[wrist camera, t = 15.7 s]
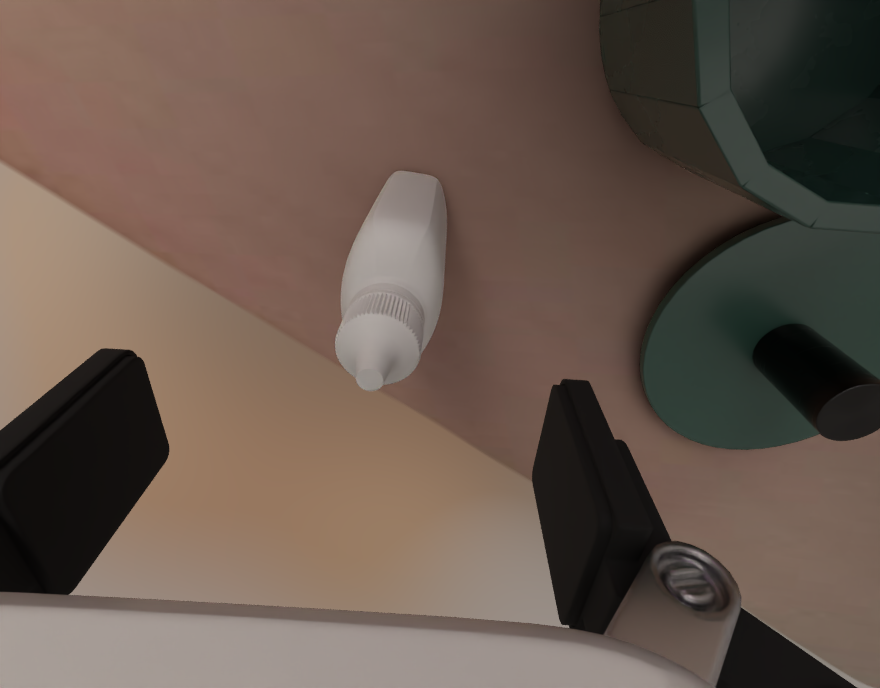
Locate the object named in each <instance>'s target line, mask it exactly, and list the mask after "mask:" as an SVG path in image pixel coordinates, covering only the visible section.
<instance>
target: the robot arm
mask: <svg viewBox="0 0 880 688" xmlns="http://www.w3.org/2000/svg"><path fill="white" fill-rule="evenodd" d="M168 455H169V444H168V440H167V437H166V434H165V430H164V427H163V424H162V421H161V417H160V414H159V410H158V407H157V404H156V400H155V397H154V394H153V390H152V387H151V384H150V381H149V378H148V374H147V371H146V367H145V364H144V361H143V360H142V359H141V358H140V357H137V355H136V354H135V353H134V352H133V351H131V350H122V349H101V350H99V351H97V352H96V353H95V354H94V355H92V356H91V357H90V358H89V359H87V360H86V361H85V362H84V363H82V364H81V365H80V366H79V367H78V368H77V369H75V370H74V371H73V372H71V373H70V374H69V375H68V376H67V377H65V378H64V379H63V380H62V381H61V382H59V383H58V384H57V385H56V386H54V387H53V388H52V389H51V390H49V391H48V392H47V393H46V394H44V395H43V396H42V397H41V398H40V399H38V400H37V401H36V402H35V403H33V405H31V406H30V407H29V408H28V409H26V410H25V411H24V412H22V413H21V414H20V415H19V416H18V417H16V418H15V419H14V420H13V421H11V422H10V423H9V424H8V425H6V426H5V427H4V428H3V429H2V430H0V688H857V687H855V686H854V685H852V684H851V683H849V682H848V681H847V680H845V679H844V678H842V677H841V676H839V675H838V674H836V673H835V672H834V671H832V670H831V669H829V668H828V667H826V666H825V665H823V664H822V663H821V662H819V661H818V660H816V659H815V658H813V657H812V656H810V655H809V654H808V653H806V652H805V651H803V650H802V649H800V648H799V647H797V646H796V645H795V644H793V643H792V642H790V641H789V640H787V639H786V638H784V637H783V636H782V635H780V634H779V633H777V632H776V631H774V630H773V629H771V628H770V627H769V626H767V625H766V624H764V623H763V622H761V621H760V620H758V619H757V618H755V617H754V616H753V615H751V614H750V613H748V612H747V611H745V610H744V609H742V608H741V594H740V591H739V588H738V585H737V583H736V581H735V580H734V578H733V577H732V575H731V574H730V572H729V571H728V570H727V569H726V568H725V567H724V566H723V565H722V564H721V563H720V562H719V561H718V560H717V559H716V558H714V557H713V556H711V555H710V554H709V553H707V552H706V551H704V550H702V549H700V548H698V547H695V546H693V545H691V544H687V543H683V542H679V541H671V539H670V537H669V534H668V532H667V530H666V528H665V526H664V524H663V522H662V519H661V517H660V515H659V513H658V511H657V509H656V506H655V504H654V502H653V500H652V498H651V496H650V494H649V491H648V489H647V487H646V485H645V483H644V481H643V478H642V476H641V474H640V472H639V470H638V468H637V466H636V463H635V461H634V459H633V457H632V455H631V453H630V450H629V448H628V447H627V445H626V443H625V442H624V441H622V440H616V439H614V437H613V435H612V433H611V430H610V428H609V426H608V423H607V421H606V419H605V417H604V414H603V412H602V410H601V407H600V405H599V403H598V401H597V398H596V396H595V394H594V391H593V389H592V387H591V385H590V383H589V381H585V380H570V379H563V380H562V381H561V383H560V385H553V387H552V389H551V393H550V398H549V402H548V406H547V411H546V415H545V419H544V423H543V428H542V432H541V436H540V440H539V445H538V449H537V453H536V458H535V462H534V466H533V472H532V482H533V488H534V493H535V498H536V503H537V508H538V513H539V519H540V524H541V529H542V534H543V539H544V543H545V549H546V554H547V559H548V564H549V569H550V575H551V580H552V585H553V590H554V594H555V600H556V605H557V610H558V615H559V619H560V622H561V624H562V625H569V628H562V627H555V626H548V625H539V624H531V623H519V622H506V621H494V620H481V619H469V618H457V617H442V616H426V615H411V614H395V613H379V612H363V611H347V610H331V609H330V610H329V609H314V608H296V607H279V606H262V605H245V604H228V603H208V602H192V601H174V600H156V599H137V598H136V599H135V598H118V597H98V596H79V595H69V594H70V593H71V592H72V591H73V590H74V589H75V588H76V586H77V585H78V583H79V582H80V581H81V579H82V578H83V576H84V575H85V574H86V572H87V571H88V569H89V568H90V567H91V565H92V564H93V563H94V561H95V560H96V558H97V557H98V555H99V554H100V553H101V551H102V550H103V549H104V547H105V546H106V544H107V543H108V542H109V540H110V539H111V537H112V536H113V535H114V533H115V532H116V530H117V529H118V527H119V526H120V525H121V523H122V522H123V521H124V519H125V518H126V516H127V515H128V514H129V512H130V511H131V509H132V508H133V507H134V505H135V504H136V502H137V501H138V500H139V498H140V497H141V495H142V494H143V493H144V491H145V490H146V488H147V487H148V486H149V484H150V483H151V481H152V480H153V479H154V477H155V476H156V474H157V473H158V472H159V470H160V469H161V467H162V466H163V465H164V463H165V462H166V460H167V458H168Z"/></svg>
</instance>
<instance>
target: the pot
mask: <svg viewBox="0 0 880 688" xmlns="http://www.w3.org/2000/svg"><path fill="white" fill-rule="evenodd" d="M599 34H600V47H601V57H602V62H603V67H604V72H605V77H606V80H607V83H608V86H609V89H610V92H611V94H612V97H613V99H614V101H615V103H616V105H617V107H618V109H619V111H620V113H621V115H622V117H623V118H624V119H625V121H626V122H627V124H628V125H629V126H630V128H631V129H632V130H633V132H634V133H635V134H636V135H637V137H638V138H639V140H640V141H641V142H642V143H643V144H644V145H646V146H648V147H649V148H651V149H653V150H654V151H656V152H657V153H659V154H660V155H662V156H664V157H666V158H668V159H669V160H671V161H673V162H674V163H676V164H678V165H680V166H681V167H683V168H685V169H686V170H688V171H690V172H692V173H694V174H696V175H698V176H700V177H702V178H705V179H707V180H709V181H711V182H713V183H715V184H717V185H719V186H721V187H723V188H725V189H727V190H729V191H732V192H734V193H736V194H738V195H740V196H742V197H744V198H746V199H748V200H750V201H752V202H754V203H756V204H759V205H761V206H763V207H765V208H767V209H769V210H771V211H773V212H775V213H777V214H779V215H781V216H783V217H786V218H788V219H790V220H792V221H794V222H796V223H798V224H800V225H802V226H804V227H808V228H810V229H821V230H834V231H847V232H860V233H873V234H880V0H601V2H600V22H599Z"/></svg>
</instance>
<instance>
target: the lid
mask: <svg viewBox="0 0 880 688" xmlns="http://www.w3.org/2000/svg"><path fill="white" fill-rule="evenodd" d="M640 377H641V381H642V386H643V390H644V392H645V394H646V396H647V399H648V401H649V403H650V404H651V406H652V408H653V409H654V411H655V412H656V414H657V415H658V416H659V417H660V419H661V420H662V421H663V422H664V423H665V424H666V425H667V426H669V427H670V428H671V429H673V430H674V431H675V432H677V433H678V434H680V435H682V436H684V437H686V438H688V439H690V440H692V441H695V442H698V443H701V444H704V445H708V446H712V447H717V448H725V449H741V450H749V449H763V448H769V447H776V446H781V445H785V444H789V443H794V442H798V441H801V440H804V439H807V438H810V437H813V436H815V435H818V434H821V435H822V436H824V437H826V438H828V439H831V440H836V441H848V440H854V439H858V438H861V437H864V436H867V435H869V434H871V433H873V432H875V431H876V430H878V429H879V428H880V234H873V233H860V232H847V231H834V230H821V229H810V228H808V227H804V226H802V225H800V224H798V223H796V222H794V221H792V220H790V219H788V218H786V217H781V218H778V219H775V220H773V221H770V222H767V223H764V224H761V225H758V226H756V227H754V228H752V229H750V230H747V231H745V232H743V233H741V234H739V235H737V236H735V237H734V238H732V239H730V240H728V241H727V242H725V243H723V244H722V245H720V246H718V247H717V248H716V249H714V250H713V251H711V252H710V253H709V254H707V255H706V256H704V257H703V258H702V259H700V260H699V261H698V262H697V263H696V264H695V265H694V266H692V267H691V268H690V269H689V270H688V271H687V272H686V273H685V274H684V275H683V276H682V277H681V278H680V279H679V280H678V281H677V282H676V283H675V285H674V286H673V287H672V288H671V289H670V291H669V292H668V293H667V295H666V296H665V297H664V299H663V300H662V301H661V303H660V304H659V306H658V308H657V310H656V311H655V313H654V315H653V317H652V318H651V321H650V323H649V325H648V328H647V330H646V333H645V336H644V340H643V344H642V347H641V355H640Z"/></svg>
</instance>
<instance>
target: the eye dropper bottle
mask: <svg viewBox="0 0 880 688" xmlns="http://www.w3.org/2000/svg"><path fill="white" fill-rule="evenodd" d="M446 237H447V210H446V202H445V196H444V192H443V188H442V185H441V183H440V182H439V180H438V179H437V178H435V177H433V176H431V175H426V174H421V173H415V172H409V171H395V172H394V173H393V174H392V175H390V177H389V178H388V180H387V182H386V183H385V185H384V187H383V188H382V190H381V192H380V194H379V195H378V197H377V199H376V201H375V203H374V204H373V206H372V208H371V210H370V212H369V213H368V215H367V217H366V219H365V221H364V223H363V225H362V227H361V229H360V230H359V232H358V234H357V236H356V239H355V241H354V243H353V245H352V248H351V251H350V253H349V256H348V259H347V262H346V265H345V270H344V274H343V279H342V286H341V314H342V322H341V325H340V327H339V329H338V332H337V335H336V339H335V349H336V351H335V352H336V354H337V355H336V356H337V357H338V360H339V361H340V363H341V364H342V366H343V367H344V368H345V370H346V371H348V373H350V374H351V375H352V376H354V377H355V378H356V382H357V384H358V385H359V386H360V387H361V388H362V389H364V390H367V391H375V390H378V389H379V388H381V387H382V385H385V384H393V383H396V382H398V381H400V380H403V379H404V378H406V377H407V376H409V375H410V373H412V372H413V370H415V368H416V367H417V365H418V363H419V360H420V357H421V353H422V352H423V350H424V349H425V347H426V346H427V344H428V342H429V341H430V339H431V337H432V335H433V332H434V330H435V327H436V325H437V321H438V318H439V315H440V310H441V305H442V298H443V288H444V273H445V255H446Z"/></svg>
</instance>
